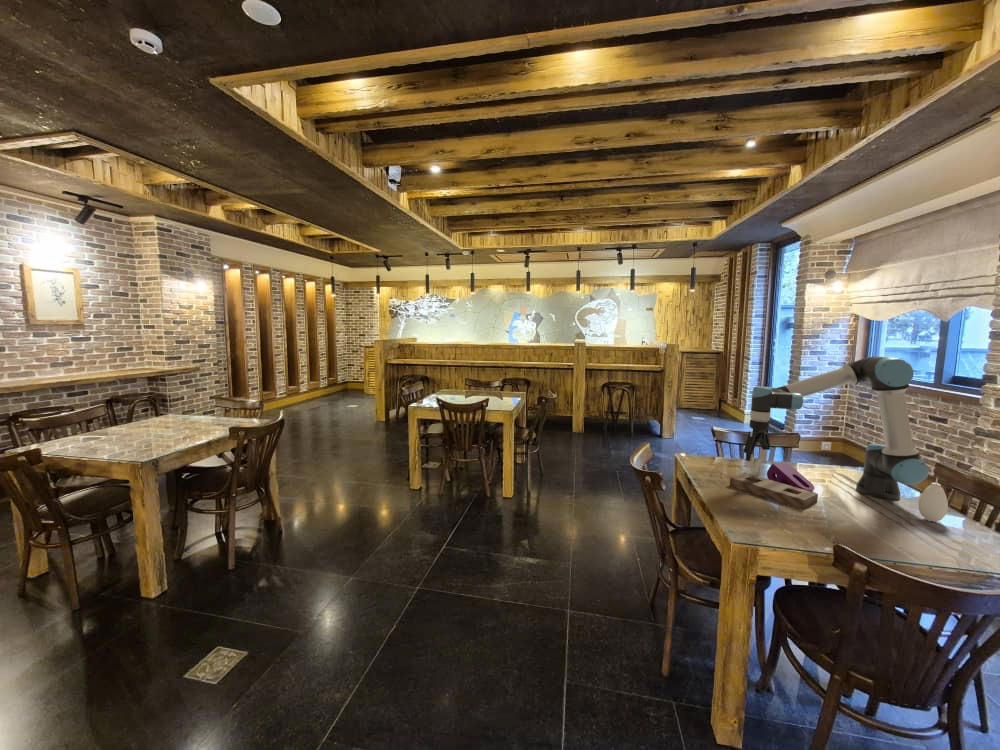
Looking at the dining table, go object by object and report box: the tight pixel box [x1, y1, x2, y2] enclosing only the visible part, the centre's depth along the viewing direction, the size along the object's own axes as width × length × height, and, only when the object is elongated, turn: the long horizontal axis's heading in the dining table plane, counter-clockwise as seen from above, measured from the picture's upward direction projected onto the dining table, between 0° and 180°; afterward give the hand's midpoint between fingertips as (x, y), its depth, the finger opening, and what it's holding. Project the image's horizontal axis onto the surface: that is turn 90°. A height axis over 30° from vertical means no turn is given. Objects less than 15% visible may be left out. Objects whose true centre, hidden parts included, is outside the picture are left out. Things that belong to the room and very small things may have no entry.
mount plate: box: [729, 472, 819, 510], centre depth 186 cm, size 30×14×4 cm, turn 34°
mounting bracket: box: [766, 461, 815, 492], centre depth 197 cm, size 9×8×18 cm
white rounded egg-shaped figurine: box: [918, 477, 949, 523], centre depth 162 cm, size 8×8×18 cm
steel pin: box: [748, 456, 762, 482], centre depth 192 cm, size 4×4×14 cm
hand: (755, 465), depth 192 cm, fingers open, 13 cm apart
